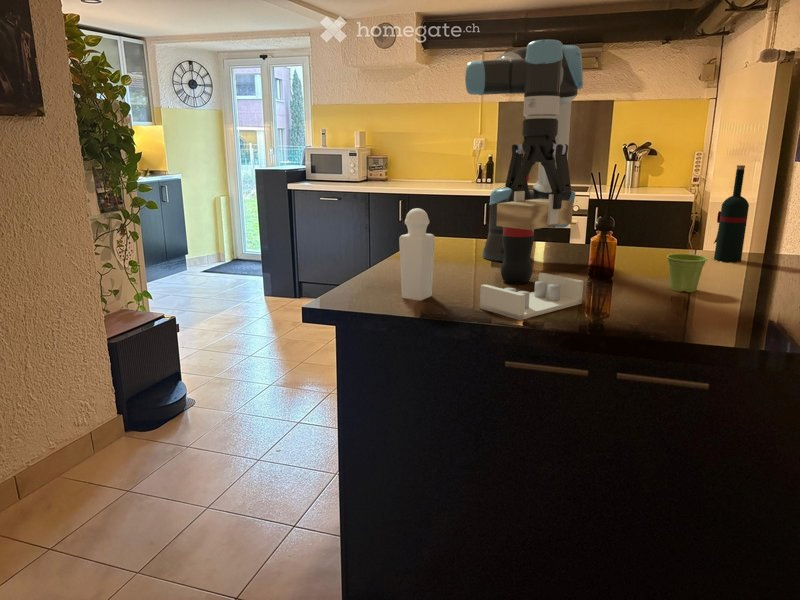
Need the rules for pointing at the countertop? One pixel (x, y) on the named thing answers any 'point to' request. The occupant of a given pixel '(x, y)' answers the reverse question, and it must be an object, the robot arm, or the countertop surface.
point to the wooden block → (531, 214)
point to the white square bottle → (416, 257)
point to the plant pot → (685, 271)
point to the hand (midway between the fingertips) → (534, 221)
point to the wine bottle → (732, 223)
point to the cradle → (532, 297)
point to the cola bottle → (517, 249)
